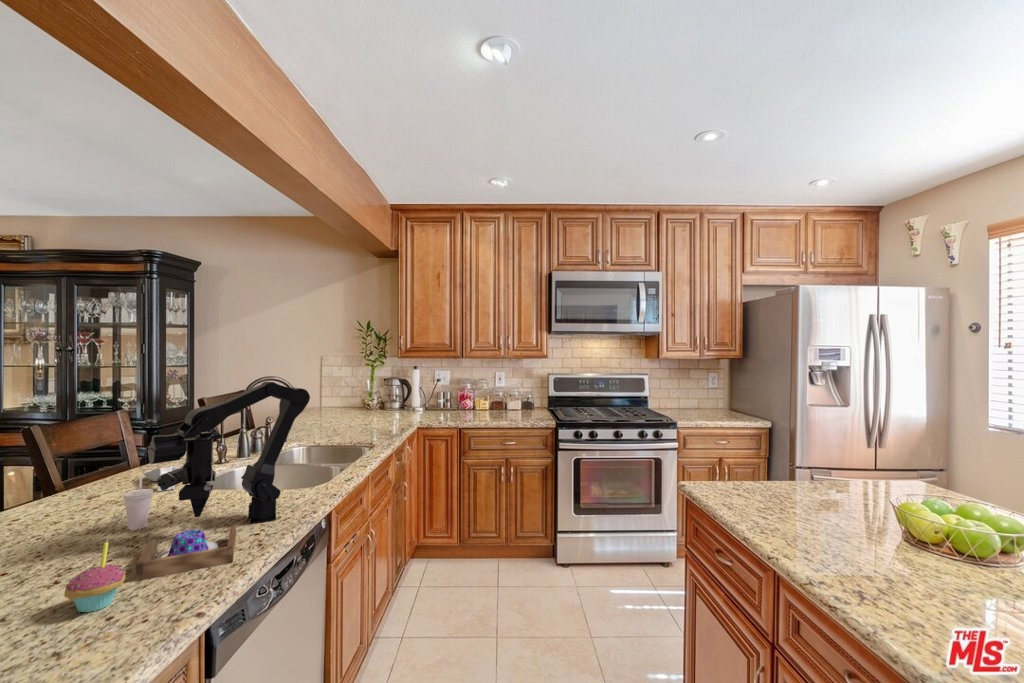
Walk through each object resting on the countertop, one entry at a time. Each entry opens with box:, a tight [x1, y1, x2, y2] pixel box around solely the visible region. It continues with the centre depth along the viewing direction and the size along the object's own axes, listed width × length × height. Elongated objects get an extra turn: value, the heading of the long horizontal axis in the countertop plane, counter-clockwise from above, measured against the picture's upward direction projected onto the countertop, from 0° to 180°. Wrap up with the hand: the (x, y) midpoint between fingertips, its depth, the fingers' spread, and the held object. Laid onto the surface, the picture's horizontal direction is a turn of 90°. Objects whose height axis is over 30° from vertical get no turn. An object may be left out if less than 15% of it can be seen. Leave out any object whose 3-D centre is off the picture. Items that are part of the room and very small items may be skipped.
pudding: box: [155, 529, 219, 559], centre depth 105 cm, size 12×12×5 cm
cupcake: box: [64, 537, 126, 613], centre depth 84 cm, size 9×8×12 cm
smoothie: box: [122, 476, 154, 531], centre depth 120 cm, size 6×6×14 cm
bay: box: [134, 524, 237, 581], centre depth 104 cm, size 17×15×4 cm
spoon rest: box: [143, 465, 183, 492], centre depth 160 cm, size 24×12×7 cm, turn 42°
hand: (197, 516), depth 115 cm, fingers closed
